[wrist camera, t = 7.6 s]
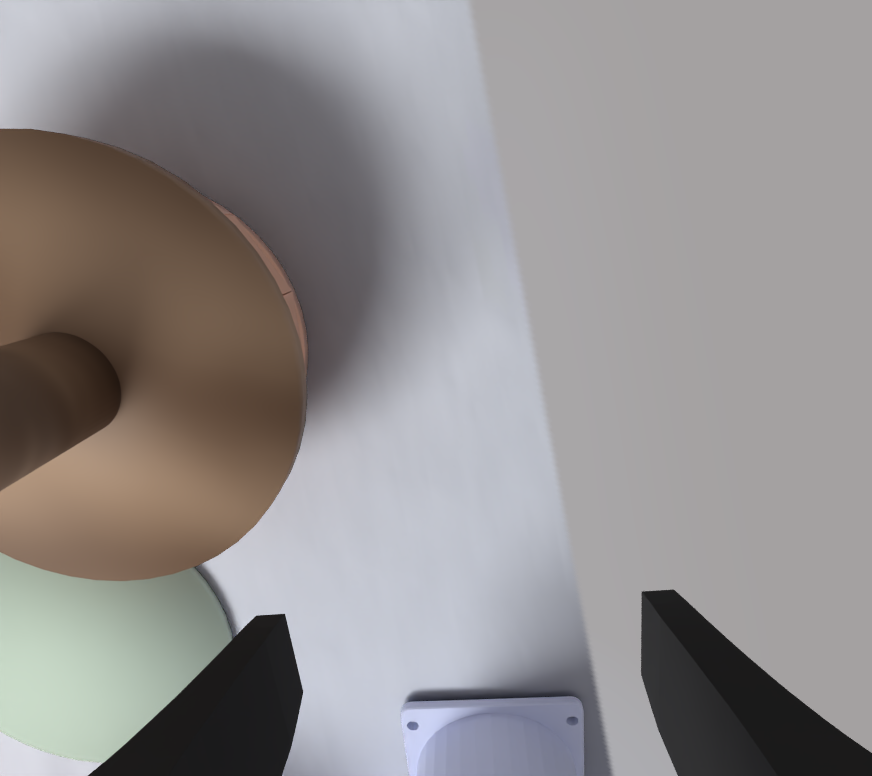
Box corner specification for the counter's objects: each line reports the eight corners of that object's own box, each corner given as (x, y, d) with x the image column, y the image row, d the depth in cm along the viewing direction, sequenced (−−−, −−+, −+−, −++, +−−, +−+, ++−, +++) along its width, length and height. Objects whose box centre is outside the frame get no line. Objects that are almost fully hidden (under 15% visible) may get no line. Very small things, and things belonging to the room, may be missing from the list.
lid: (331, 561, 17) (286, 685, 13) (-50, 569, 18) (-221, 689, 14) (271, 115, 13) (174, 66, 9) (-215, 150, 14) (-536, 120, 10)
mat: (261, 751, 26) (258, 759, 25) (-15, 758, 27) (-22, 766, 26) (195, 489, 21) (190, 493, 21) (-132, 509, 22) (-143, 514, 22)
